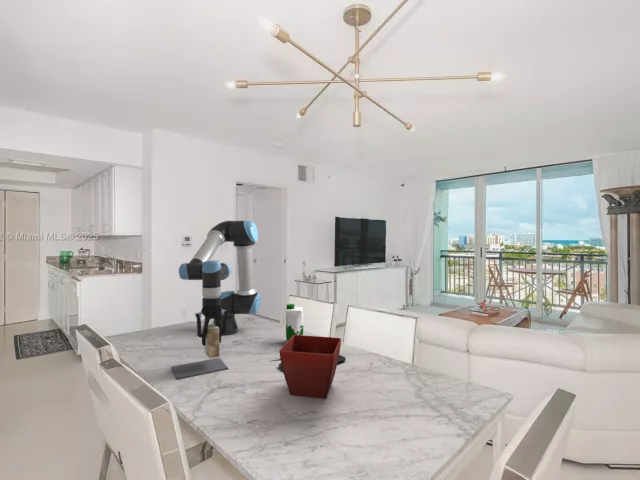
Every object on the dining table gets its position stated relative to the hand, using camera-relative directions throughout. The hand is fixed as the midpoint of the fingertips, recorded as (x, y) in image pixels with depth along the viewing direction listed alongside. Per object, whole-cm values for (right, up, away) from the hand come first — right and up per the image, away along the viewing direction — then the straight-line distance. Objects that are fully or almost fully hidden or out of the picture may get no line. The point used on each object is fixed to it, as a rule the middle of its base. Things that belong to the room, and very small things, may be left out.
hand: (211, 351), depth 148 cm
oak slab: (0, -1, 0) cm, 1 cm away
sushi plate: (+38, -7, +9) cm, 40 cm away
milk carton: (+33, -6, +32) cm, 47 cm away
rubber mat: (-4, -6, -2) cm, 8 cm away
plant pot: (+43, -7, -22) cm, 49 cm away
